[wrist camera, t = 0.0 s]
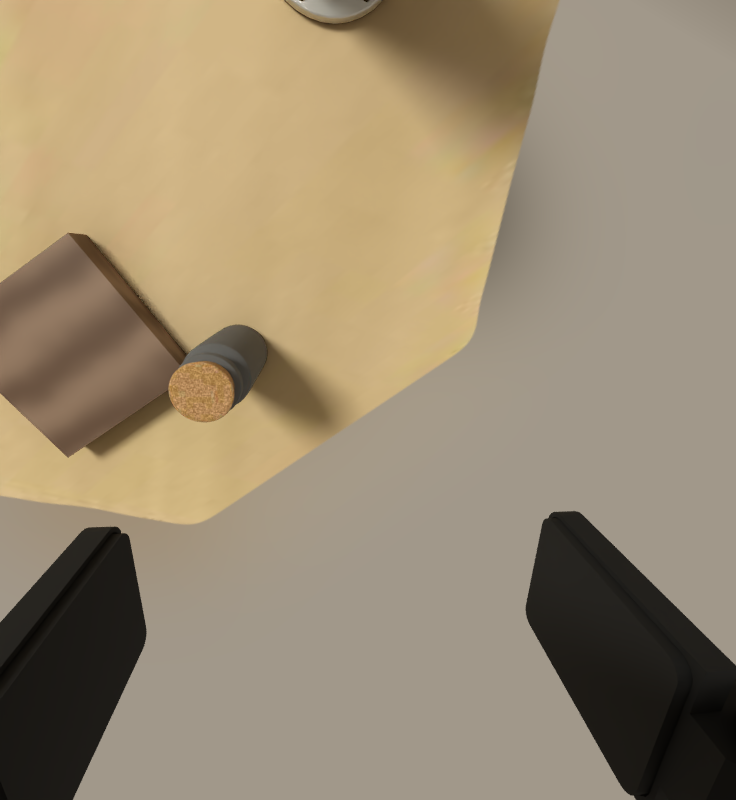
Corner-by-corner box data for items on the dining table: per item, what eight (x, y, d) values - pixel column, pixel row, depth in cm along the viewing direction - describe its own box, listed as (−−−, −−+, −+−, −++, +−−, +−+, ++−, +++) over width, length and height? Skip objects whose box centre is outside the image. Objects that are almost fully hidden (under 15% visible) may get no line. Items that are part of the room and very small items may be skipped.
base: (-38, 326, 41) (-66, 331, 38) (86, 234, 39) (67, 232, 36) (83, 445, 46) (68, 457, 43) (197, 368, 44) (188, 376, 42)
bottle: (220, 316, 43) (169, 343, 29) (274, 334, 44) (251, 370, 30) (206, 367, 44) (151, 416, 30) (259, 383, 46) (230, 439, 32)
